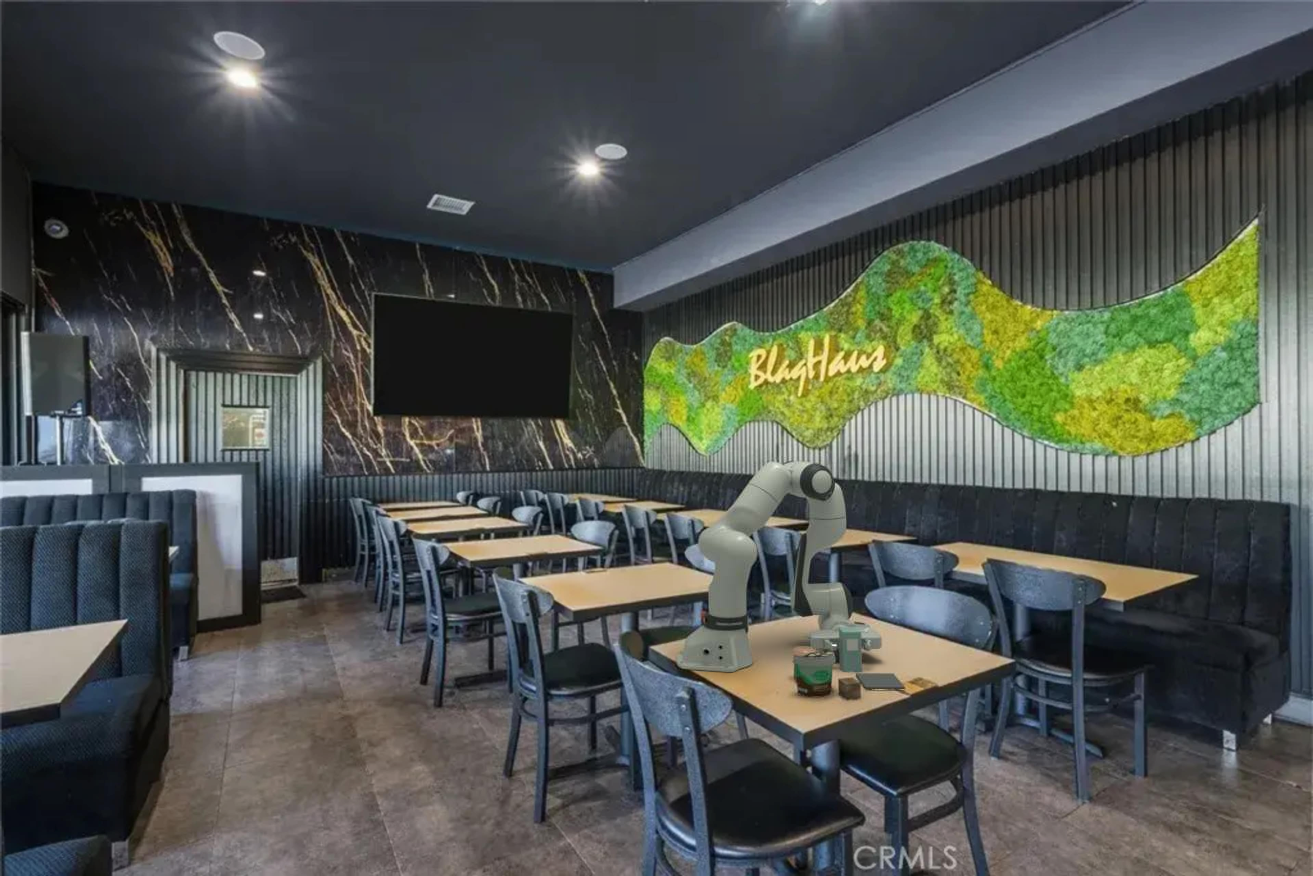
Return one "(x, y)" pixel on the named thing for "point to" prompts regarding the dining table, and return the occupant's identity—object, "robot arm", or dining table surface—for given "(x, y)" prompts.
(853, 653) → the tall green rectangular block
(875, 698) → the dining table surface
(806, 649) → the tan rounded cylinder
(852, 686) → the walnut cube
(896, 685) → the mat
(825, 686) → the food container
